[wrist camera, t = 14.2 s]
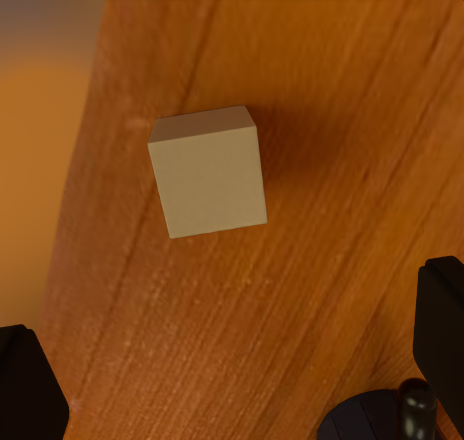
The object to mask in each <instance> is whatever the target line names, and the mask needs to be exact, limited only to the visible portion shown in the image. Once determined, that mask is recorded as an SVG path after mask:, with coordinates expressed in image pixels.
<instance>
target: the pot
mask: <svg viewBox="0 0 464 440" xmlns="http://www.w3.org/2000/svg"><path fill="white" fill-rule="evenodd" d="M437 402H438V401H437V397H436V395H435V393H434V392H433V390H432V388H431V387H430V385H429V384H428V382H427V381H425V380H423V379H421V378H409V379H406V380H404V381H403V382H402V383H401V384H400V386H399V388H398V391H393V390H379V391H372V392H367V393H363V394H360V395H357V396H355V397H352V398H350V399H348V400H346V401H344V402H343V403H341V404H340V405H338V406H337V407H336V408H334V409H333V410H332V411H331V412H330V413H329V414H328V415H327V416H326V417H325V419H324V420H323V422H322V423H321V425H320V427H319V430H318V434H317V440H447V439H446V437H445V436H444V434H443V432H442V431H441V429H440V427H439V426H438V424H437V423H436V414H437Z"/></svg>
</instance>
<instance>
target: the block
mask: <svg viewBox="0 0 464 440" xmlns="http://www.w3.org/2000/svg"><path fill="white" fill-rule="evenodd" d="M148 148H149V153H150V157H151V161H152V165H153V169H154V173H155V178H156V182H157V186H158V190H159V194H160V199H161V203H162V207H163V211H164V215H165V220H166V224H167V228H168V232H169V236H170V239H172V238H178V237H184V236H191V235H197V234H203V233H209V232H215V231H221V230H227V229H233V228H239V227H245V226H252V225H258V224H264V223H267V222H268V221H267V212H266V204H265V195H264V187H263V178H262V169H261V161H260V152H259V144H258V135H257V127H256V125H255V123H254V121H253V119H252V118H251V116H250V114H249V112H248V110H247V109H246V107H245V105H240V106H234V107H228V108H222V109H216V110H209V111H203V112H197V113H191V114H185V115H178V116H172V117H166V118H160V119H156V122H155V125H154V128H153V130H152V133H151V136H150V138H149V141H148Z"/></svg>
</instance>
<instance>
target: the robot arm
mask: <svg viewBox="0 0 464 440" xmlns="http://www.w3.org/2000/svg"><path fill="white" fill-rule="evenodd" d="M413 355H414V359H415V362H416V364H417V366H418V367H419V369H420V371H421V372H422V374H423V375H424V377H425V379H426V380H427V382H428V384H429V385H430V387H431V388H432V390H433V392H434V393H435V395H436V397H437V398H438V400H439V401H440V403H441V405H442V406H443V408H444V410H445V411H446V413H447V414H448V416H449V418H450V419H451V421H452V422H453V424H454V426H455V427H456V429H457V431H458V432H459V434H460V435H461V437H462V439H463V440H464V264H463V263H462V262H461V261H459V260H458V259H457V258H456V257H455V256H445V257H439V258H433V259H428V260H427V261H426V263H425V266H422V267H420V268H419V272H418V285H417V298H416V312H415V325H414V339H413ZM68 420H69V406H68V403H67V401H66V399H65V397H64V395H63V392H62V390H61V388H60V386H59V384H58V382H57V379H56V377H55V375H54V373H53V371H52V369H51V367H50V364H49V362H48V360H47V358H46V356H45V354H44V352H43V349H42V347H41V345H40V343H39V341H38V339H37V336H36V334H35V333H34V331H33V330H32V329H27V328H26V327H25V326H24V325H22V324H19V325H13V326H7V327H0V440H63V436H64V433H65V430H66V427H67V424H68Z"/></svg>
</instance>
